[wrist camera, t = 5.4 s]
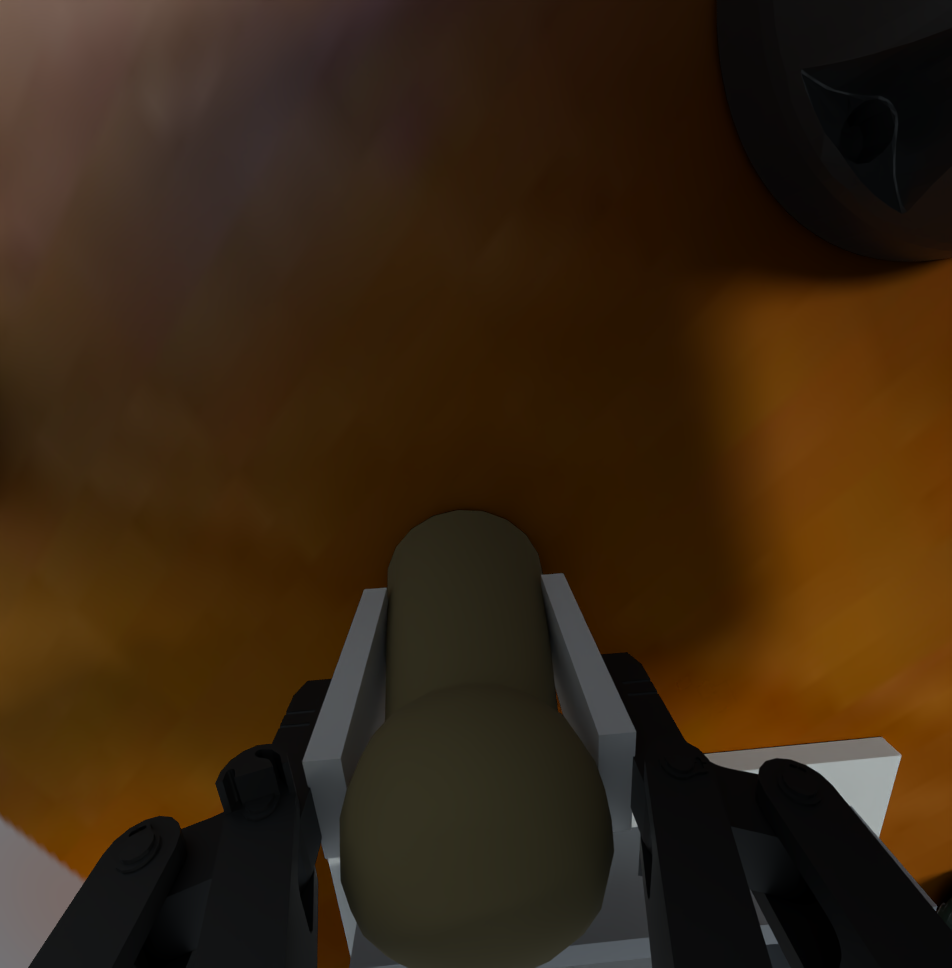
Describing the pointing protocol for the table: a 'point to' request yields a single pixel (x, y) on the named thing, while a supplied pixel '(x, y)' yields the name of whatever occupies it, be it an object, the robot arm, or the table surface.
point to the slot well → (622, 919)
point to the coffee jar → (946, 912)
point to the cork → (472, 766)
